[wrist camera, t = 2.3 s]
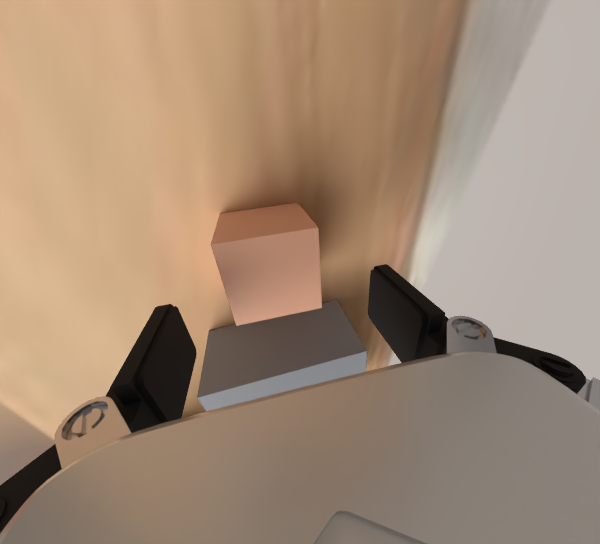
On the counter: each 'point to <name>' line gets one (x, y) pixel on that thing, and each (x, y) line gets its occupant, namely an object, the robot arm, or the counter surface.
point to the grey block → (279, 356)
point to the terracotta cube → (268, 262)
